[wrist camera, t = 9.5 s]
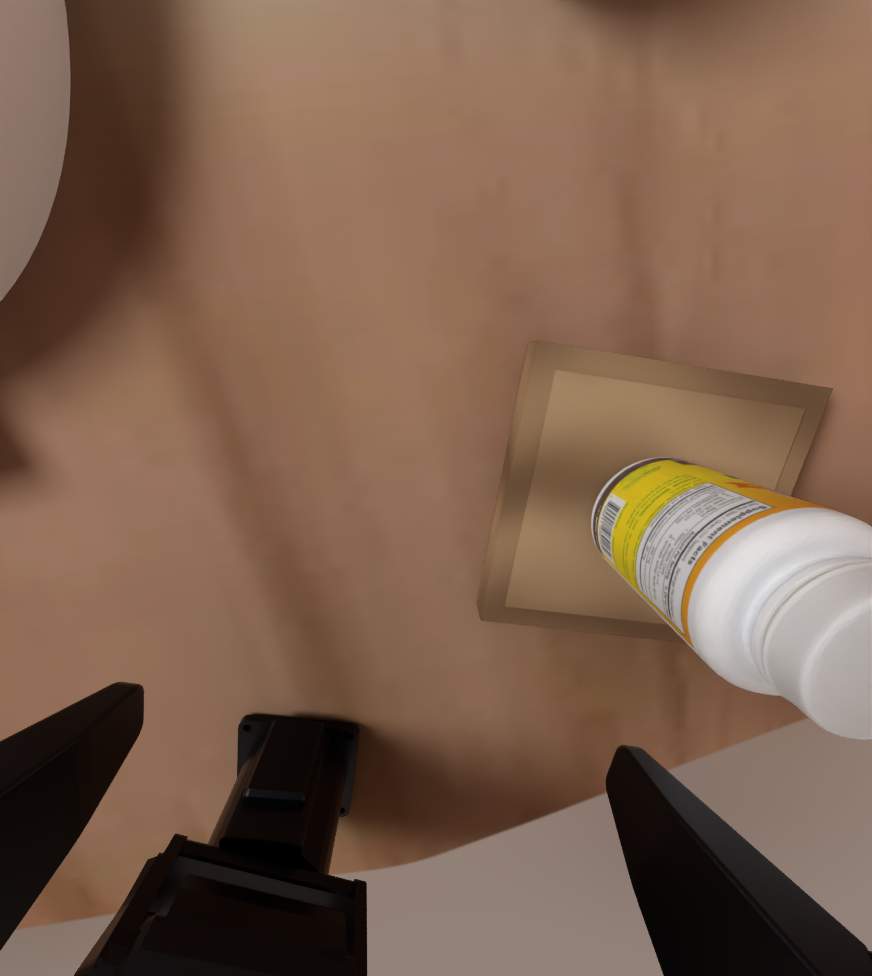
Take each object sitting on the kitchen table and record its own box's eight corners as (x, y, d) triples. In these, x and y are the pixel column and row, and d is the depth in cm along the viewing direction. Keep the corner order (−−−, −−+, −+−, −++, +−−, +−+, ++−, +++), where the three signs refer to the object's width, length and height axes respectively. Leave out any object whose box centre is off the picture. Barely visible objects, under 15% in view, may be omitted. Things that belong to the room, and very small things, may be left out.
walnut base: (710, 629, 23) (732, 649, 21) (476, 603, 22) (481, 622, 20) (801, 387, 19) (836, 388, 17) (527, 343, 18) (537, 340, 16)
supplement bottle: (727, 525, 19) (1055, 690, 9) (622, 590, 20) (821, 808, 10) (673, 426, 18) (990, 499, 8) (562, 501, 18) (725, 650, 9)
